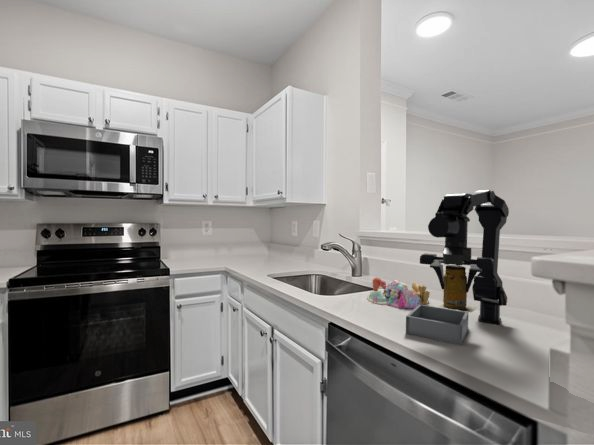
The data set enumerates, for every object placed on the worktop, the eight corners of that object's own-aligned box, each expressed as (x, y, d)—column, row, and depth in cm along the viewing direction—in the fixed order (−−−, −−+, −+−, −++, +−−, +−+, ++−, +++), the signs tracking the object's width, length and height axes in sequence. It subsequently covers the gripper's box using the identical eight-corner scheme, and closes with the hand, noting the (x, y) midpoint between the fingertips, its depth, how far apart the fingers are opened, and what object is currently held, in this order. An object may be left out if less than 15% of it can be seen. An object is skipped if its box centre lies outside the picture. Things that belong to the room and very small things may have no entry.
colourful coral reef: (420, 296, 139) (421, 276, 139) (439, 311, 116) (440, 286, 116) (364, 294, 141) (364, 274, 141) (371, 308, 118) (372, 284, 118)
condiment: (445, 302, 95) (446, 263, 95) (477, 308, 90) (478, 266, 89) (438, 307, 90) (439, 266, 90) (471, 313, 84) (472, 269, 84)
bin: (418, 319, 105) (419, 304, 105) (468, 328, 97) (468, 312, 96) (405, 333, 91) (406, 316, 91) (461, 345, 83) (462, 326, 83)
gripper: (416, 236, 88) (415, 291, 88) (493, 239, 78) (492, 301, 78) (424, 235, 98) (422, 284, 98) (494, 238, 88) (492, 293, 88)
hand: (454, 290), depth 90 cm, fingers closed on condiment, 6 cm apart
